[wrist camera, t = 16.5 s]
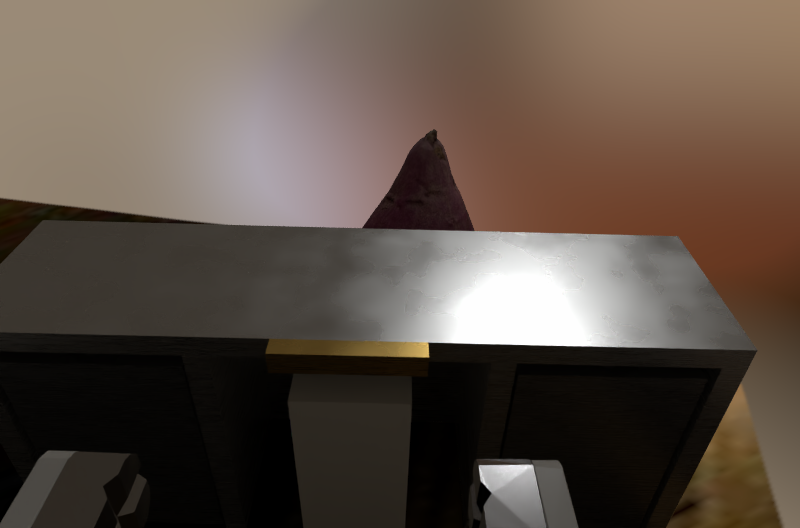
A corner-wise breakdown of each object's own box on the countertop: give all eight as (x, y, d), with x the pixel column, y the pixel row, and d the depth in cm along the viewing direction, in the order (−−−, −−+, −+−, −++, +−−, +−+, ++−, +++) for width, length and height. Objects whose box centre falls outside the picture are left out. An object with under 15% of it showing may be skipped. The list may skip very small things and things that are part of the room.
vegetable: (383, 296, 50) (386, 116, 46) (500, 321, 46) (516, 125, 41) (312, 345, 42) (306, 129, 37) (448, 382, 37) (461, 141, 32)
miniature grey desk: (39, 539, 29) (-79, 345, 21) (112, 402, 36) (43, 220, 29) (666, 552, 29) (768, 365, 22) (615, 413, 36) (677, 236, 29)
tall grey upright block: (304, 536, 29) (287, 401, 24) (319, 438, 34) (308, 306, 29) (404, 539, 29) (411, 404, 24) (404, 440, 34) (411, 308, 29)
